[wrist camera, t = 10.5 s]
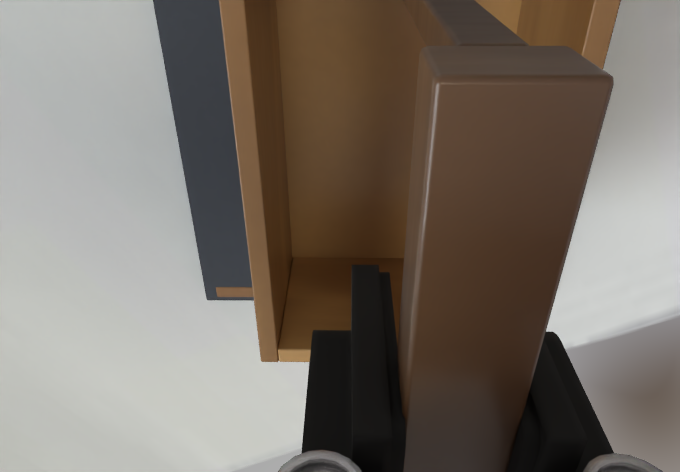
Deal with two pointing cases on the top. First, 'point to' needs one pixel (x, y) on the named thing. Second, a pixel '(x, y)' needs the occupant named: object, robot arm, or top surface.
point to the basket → (419, 187)
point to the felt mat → (206, 141)
